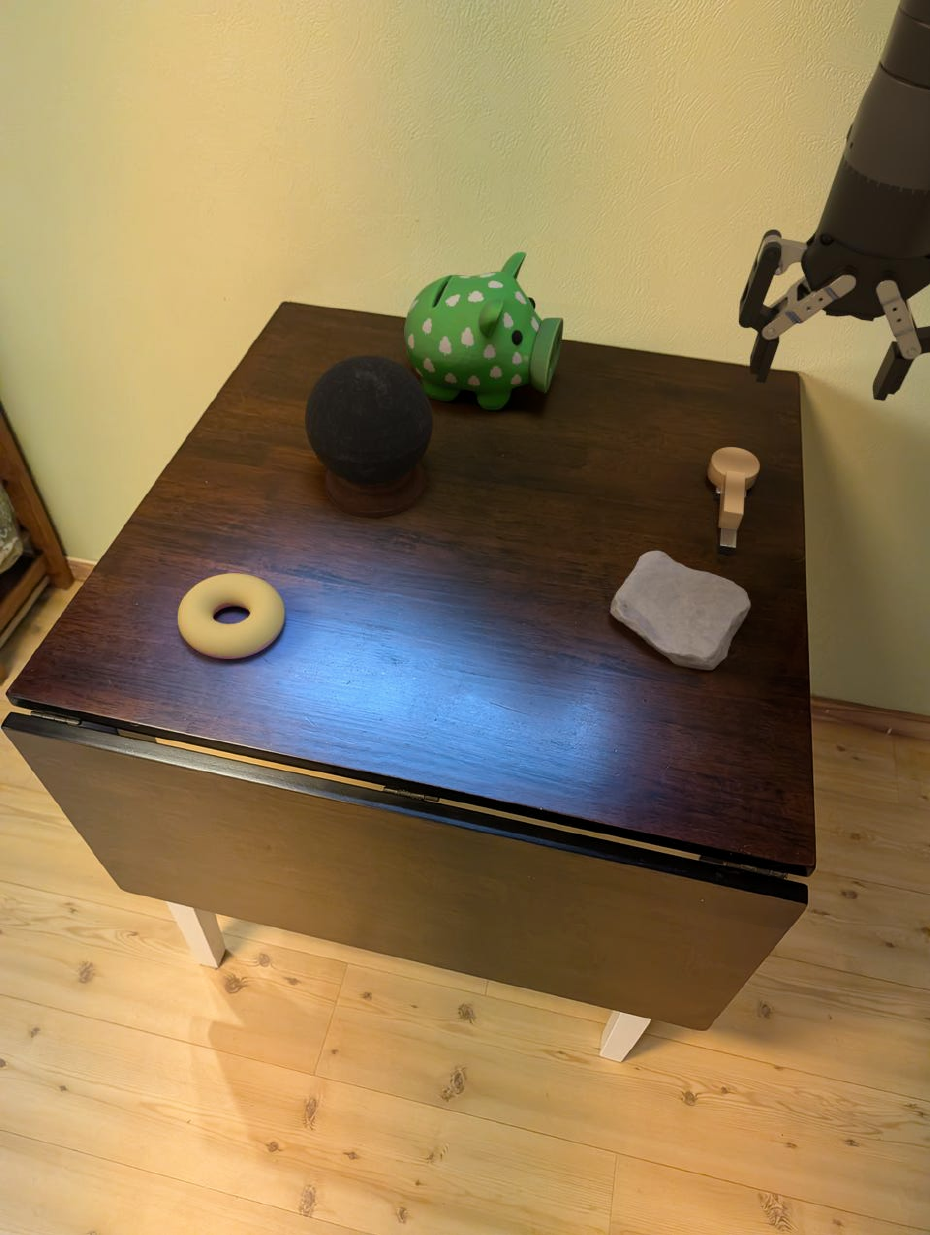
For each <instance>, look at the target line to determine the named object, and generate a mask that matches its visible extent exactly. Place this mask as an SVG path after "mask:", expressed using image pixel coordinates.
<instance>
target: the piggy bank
mask: <svg viewBox="0 0 930 1235" xmlns="http://www.w3.org/2000/svg"><path fill="white" fill-rule="evenodd" d="M526 256H527V252H525V251H518V252H515V253H512V254H511V256H510V257H509V258H508V259H507V261H506V262H504V264H503V266H502V268H501V270H500V271H499V270H498V271H492V272H485V273H481V274H476V275H462V274H449V275H446V276H443V277H440V278H438V279H436V280H434V281H432V282H430V283H429V284H427V285H426V286H425V287H424V288H422V290H421V291H420V292H419V293H418V294H417V295H416V296H415V298H414V300H413V301H412V303H411V304H410V307H409V309H408V312H407V315H406V319H405V323H404V329H403V330H404V332H403V334H404V335H403V336H404V346H405V351H406V355H407V356H408V359H409V361H410V364H411V365H412V368H413V369H414V371H415V372H416V374H418V376H419V378H420V380H421V383H422V386H423V388H424V389H425V392H426V394H427V397H428V398H431V399H433V400H436V401H441V402H451V401H453V400H455V398H457V397H458V396H459V394H461V391H463V390H464V391H468V392H473V393H475V395H476V401H477V403H478V404H479V406H480V408H482V409H484V410H487V411H488V410H490V411H497V410H500V409H502V408H504V406H505V405H506V404H507V403H508V402H509V400H510V397H511V394H512V390H513V389H515V388H517V387H521V386H525V385H528V384H530V385H531V387H533V388H534V389H535V390H537V391H539V392H540V393H542V394H547V392H548V391H549V389H550V386H551V383H552V380H553V376H554V374H555V372H556V368H557V366H558V361H559V357H560V353H561V350H562V349H561V348H562V343H563V333H564V318H563V317H544V318H543V319H542V318H541V317H540V316H539V315H538V313H537V312H536V301H535V300H534V298H533V297H529V296H527V294H526V293H525V291H524V289H523V288H522V286H521V285H520V284H519V282H518V276H519V273H520V271H521V268H522V266H523V264H524V261H525V258H526Z"/></svg>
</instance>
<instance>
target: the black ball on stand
mask: <svg viewBox="0 0 930 1235" xmlns="http://www.w3.org/2000/svg"><path fill="white" fill-rule="evenodd" d="M432 409H433V408H432V405H431V402H430V399H429V396H428V394H427V393H426V392H425V389H424V388H423V384H421V382H420V381H419V379H418V378H417V377H416V376H415V374H414V373H412V372H411V371H410V370H409V369H407V368H406V367H405V366H404V365H402V364H401V363H399V362H397V361H396V360H392V359H390V358H387V357H384V356H381V355H372V354H371V355H370V354H363V355H356V356H351V357H348V358H346V359H343V360H341V361H338V362H337V363H334V364H333V365H332V366H331V367H329V368H328V369H327V370H326V371H325V372H324V373H323V374H321V376H320V377H319V378H318V379H317V380H316V382H315V383H314V385H313V387H312V389H311V390H310V393H309V396H308V398H307V402H306V407H305V414H304V422H305V424H304V425H305V431H306V435H307V439H308V443H309V445H310V447H311V449H312V451H313V452H314V455H315V456H316V458H317V459H318V461H319V462H320V463H321V464H322V465H323V466H324V467H325V468H326V471H325V474H324V478H323V479H324V480H323V483H324V490H325V494H326V496H327V498H328V499H329V501H330V502H331V504H333V506H335V507H336V508H338V509H339V510H340V511H342V512H344V513H346V514H349V515H352V516H356V517H360V518H368V519H370V518H371V519H373V518H374V519H375V518H385V517H390V516H393V515H396V514H399V513H401V512H404V511H406V510H408V509H409V508H411V507H412V506H413V505H415V504H416V503H417V502H418V501H419V500H420V498H421V497H422V495H423V493H424V492H425V488H426V484H427V482H426V470H425V467H424V466H423V464H422V462H421V461H422V459H423V458H424V455H425V454H426V452H427V451H428V448H429V446H430V442H431V439H432V436H433V427H434V420H433V419H434V417H433V410H432Z"/></svg>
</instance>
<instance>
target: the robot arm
mask: <svg viewBox="0 0 930 1235" xmlns="http://www.w3.org/2000/svg"><path fill="white" fill-rule="evenodd" d="M874 70H875V71H874V73H873V75H872V77H871V79H870V82H869V83H868V86H867V87H866V90H865V92H864V95H863V96H862V98H861V99H860V100H861V101H860V103H859V105H858V108H857V110H856V113H855V116H854V119H853V121H852V123H851V124H850V125H849V128H848V131H847V134H846V138H845V139H846V140H845V146H844V149H843V151H842V155H841V158H840V160H839V164H838V167H837V170H836V173H835V174H834V177H833V181H832V183H831V184H832V185H831V187H830V190H829V193H828V196H827V198H826V202H825V205H824V208H823V211H822V214H821V217H820V219H819V222H818V225H817V228H816V230H815V231H814V233H813V234H812V235H811V236H810V237H809V238H808V239H807V240H806V241H805V242H803V241H799V240H793V239H788V238H783V237H782V233H781V232H780V230H778V229H769V230H767V231H766V232H765V233H764V234H763V235H762V239H761V241H760V244H759V247H758V249H757V253H756V254H755V258H754V261H753V264H752V265H751V266H752V267H751V269H750V272H749V275H748V278H747V280H746V283H745V286H744V288H743V292H742V293H741V294H742V295H741V298H740V300H739V309H738V325H739V326H740V327H741V328H743V329H753V330H754V331H755V332H756V337H755V340H754V343H753V346H752V350H751V352H750V355H749V373H750V375H751V374H752V375H755V378H754V382H755V383H761V384H766V382H767V380H768V376H769V374H770V371H771V368H772V366H773V362H774V359H775V357H776V353H777V350H778V347H779V344H780V336H781V335H783V334H784V333H785V332H788V330H790V329H791V328H792V327H794V326H795V325H797V324H799V325H801V324H803V323H805V322H806V321H808V320H809V319H810V318H811V317H813V316H815V315H816V314H817V313H818V312H820V311H823V312H825V316H829V317H836V318H838V317H839V318H840V317H849V316H850V317H853V318H856V319H858V320H861V321H866V322H874V320H875V319H878V318H882V317H884V316H885V317H886V320H887V323H888V325H889V327H890V330H891V333H892V336H893V337H894V338H895V340H891V342H890V345H889V347H888V349H887V350H886V353H885V355H884V358H883V360H882V362H881V364H880V366H879V369H878V370H877V373H876V375H875V377H874V379H873V382H872V387H871V388H872V397H873V401H881V402H885V401H886V400H887V398H888V395H895V394H896V393H897V392H898V391H900V389H901V387H902V386H903V383H904V382H905V379H906V377H907V375H908V373H909V371H910V369H911V367H912V365H913V363H914V361H915V360H916V359H917V358H918V357H920V356H921V355H924V354H929V353H930V325H928V326H927V325H925V326H919V327H918V325H917V323H916V320H915V317H914V314H913V311H912V308H911V305H910V301H909V300H910V299H911V298H912V297H914V296H915V295H917V294H918V293H920V292H921V291H923V290H924V289H925V288H927V287H928V286H930V0H899V3H898V4H897V8H896V11H895V14H894V17H893V20H892V22H891V25H890V28H889V32H888V34H887V36H886V39H885V43H884V46H883V48H882V50H881V54H880V58H879V60H878V63H877V65H876V68H875V69H874ZM795 263H800V267H801V270H802V273H803V276H802V277H801V278H799V279H798V280H797V281H796V282H794V283H793V284H792V285H790V286H789V287H788V289H787V291H786V292H785V294H783V295H782V296H781V297H779V298H778V299H777V300H775V301H774V302H773V303H771V304H770V305H769V306H768V305H766V304H764V303H765V300H766V298H767V295H768V293H769V290H770V287H771V284H772V282H773V279H774V276H781V275H783V274H784V273H786V272H787V270H788V269H789V268H790V266H791V265H793V264H795Z"/></svg>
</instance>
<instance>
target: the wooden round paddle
mask: <svg viewBox="0 0 930 1235" xmlns="http://www.w3.org/2000/svg"><path fill="white" fill-rule="evenodd" d="M760 468H761V465H760V461H759V460H758V458H757V457H756V455H754V453H751V452H750V451H748V450H746V449H744V448H740V447H737V446H736V447H735V446H727V447H722V448H719V449H717V450H716V451H715V452H713V453H712V455H711V458H710V462H709V465H708V468H707V477H708V479H709V481H710V482H711V483H712V485H714V487H715V486H717V487H719V488H721V496H720V501H719V511H718V526H717V527H718V528H719V527H720V528H726V529H732V530H737V531H738V530H739V527H740V525H741V522H742V519H743V516H744V513H745V511H744V509H745V501H744V491H745V490H746V491H747V490H749V489H751V488H752V487H753V486H754V485H755V482H756V480H757V477H758V474H759V471H760Z"/></svg>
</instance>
